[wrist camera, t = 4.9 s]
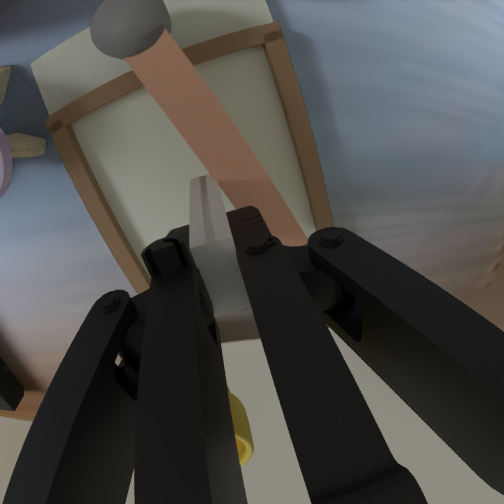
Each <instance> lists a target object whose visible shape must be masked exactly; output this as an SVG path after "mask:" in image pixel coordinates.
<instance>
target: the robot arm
mask: <svg viewBox="0 0 504 504" xmlns="http://www.w3.org/2000/svg"><path fill="white" fill-rule="evenodd" d="M141 257H142V259H143V261H144V263H145V266H146V268H147V270H148V272H149V274H150V276H151V283H150V288H149V289H147V290H146V291H144V292H142V293H140V294H138V295H136V296H134V297H132V298H131V297H130V296H129V294H128V292H126V291H124V290H115V291H110V292H108V293H106V294H104V295H103V296H102V297H101V298H99V299H98V300H97V301H96V302H95V304H94V305H93V306H92V308H91V310H90V311H89V313H88V315H87V317H86V318H85V320H84V322H83V324H82V325H81V327H80V329H79V331H78V332H77V334H76V336H75V338H74V340H73V341H72V343H71V345H70V347H69V349H68V351H67V353H66V354H65V356H64V358H63V360H62V362H61V364H60V366H59V368H58V370H57V372H56V374H55V376H54V378H53V380H52V382H51V384H50V386H49V388H48V390H47V392H46V394H45V396H44V398H43V401H42V403H41V405H40V407H39V409H38V412H37V414H36V416H35V418H34V421H33V423H32V425H31V427H30V430H29V432H28V435H27V437H26V439H25V442H24V444H23V447H22V450H21V452H20V455H19V457H18V460H17V462H16V465H15V468H14V471H13V473H12V476H11V479H10V482H9V485H8V488H7V491H6V494H5V497H4V500H3V504H125V502H126V498H127V494H128V490H129V486H130V482H131V477H132V473H133V470H134V495H135V504H248V503H247V498H246V493H245V488H244V483H243V478H242V472H241V466H240V461H239V455H238V450H237V444H236V438H235V432H234V426H233V420H232V414H231V408H230V402H229V395H228V389H227V382H226V376H225V369H224V362H223V356H222V349H221V341H220V333H219V328H218V325H217V323H216V321H215V318H214V312H215V314H216V317H221V316H224V315H228V314H232V313H236V312H239V311H243V310H246V309H250V308H252V311H253V314H254V318H255V321H256V324H257V328H258V331H259V335H260V338H261V341H262V344H263V348H264V351H265V355H266V358H267V361H268V365H269V368H270V371H271V375H272V378H273V381H274V385H275V388H276V391H277V395H278V398H279V401H280V404H281V407H282V411H283V414H284V417H285V421H286V424H287V427H288V430H289V434H290V437H291V440H292V443H293V446H294V449H295V453H296V456H297V459H298V462H299V466H300V469H301V472H302V475H303V478H304V481H305V484H306V487H307V490H308V494H309V497H310V501H311V504H428V503H427V501H426V499H425V496H424V494H423V492H422V490H421V488H420V486H419V485H418V483H417V481H416V479H415V478H414V476H413V475H412V474H411V473H410V472H409V470H408V469H407V468H405V467H403V466H402V465H400V464H398V463H397V461H396V460H395V459H394V457H393V455H392V454H391V452H390V450H389V448H388V446H387V443H386V441H385V439H384V437H383V435H382V433H381V431H380V429H379V427H378V425H377V423H376V421H375V419H374V417H373V415H372V413H371V411H370V409H369V407H368V405H367V403H366V401H365V399H364V397H363V395H362V393H361V391H360V389H359V387H358V385H357V383H356V381H355V379H354V377H353V375H352V373H351V371H350V370H349V368H348V366H347V364H346V362H345V360H344V359H343V356H342V354H341V352H340V350H339V348H338V346H337V345H336V343H335V341H334V339H333V337H332V335H331V333H330V331H329V329H328V327H327V325H328V326H329V327H330V328H331V329H332V330H333V331H334V332H335V333H336V334H337V335H338V336H339V337H340V338H341V339H342V340H343V341H344V342H345V343H346V344H347V345H348V346H349V347H350V348H351V349H352V350H353V351H354V352H355V353H356V354H357V355H358V356H359V357H360V358H361V359H362V360H363V361H364V362H365V363H366V364H367V365H368V366H369V367H370V368H371V369H372V370H373V371H374V372H375V373H376V374H377V375H378V376H379V377H380V378H381V379H382V380H383V381H384V382H385V383H386V384H387V385H388V386H389V387H390V388H391V389H392V390H393V391H394V392H395V393H396V394H397V395H398V396H399V397H400V398H401V399H402V400H403V401H404V402H405V403H406V404H407V405H408V406H409V407H410V408H411V409H412V410H413V411H414V412H415V413H416V414H417V415H418V416H419V417H420V418H421V419H422V420H423V421H424V422H425V423H426V424H427V425H428V426H429V427H430V428H431V429H432V430H433V431H434V432H435V433H436V434H437V435H438V436H439V437H440V438H441V439H442V440H443V441H444V442H445V443H446V444H447V445H448V446H449V447H450V448H451V449H452V450H453V451H454V452H455V453H456V454H457V455H458V456H459V457H460V458H461V459H462V460H463V461H464V462H465V463H466V464H467V465H468V466H469V467H470V468H471V469H472V470H473V471H474V472H475V473H476V474H477V475H478V476H479V477H480V478H481V479H482V480H484V481H485V482H486V483H487V484H488V485H489V486H490V487H492V488H493V489H495V490H496V491H498V492H499V493H501V494H503V495H504V332H503V331H502V330H500V329H499V328H498V327H496V326H495V325H494V324H492V323H491V322H490V321H488V320H487V319H485V318H484V317H483V316H481V315H480V314H478V313H477V312H476V311H474V310H473V309H471V308H470V307H468V306H467V305H466V304H464V303H463V302H461V301H460V300H458V299H457V298H455V297H454V296H452V295H451V294H449V293H448V292H447V291H445V290H444V289H442V288H441V287H439V286H438V285H436V284H434V283H433V282H431V281H430V280H428V279H427V278H425V277H424V276H422V275H421V274H419V273H418V272H416V271H414V270H413V269H411V268H410V267H408V266H407V265H405V264H403V263H402V262H400V261H399V260H397V259H395V258H394V257H392V256H391V255H389V254H387V253H386V252H384V251H382V250H381V249H379V248H378V247H376V246H374V245H373V244H371V243H369V242H368V241H366V240H364V239H363V238H361V237H359V236H358V235H356V234H354V233H352V232H351V231H349V230H346V229H344V228H338V227H329V228H328V227H327V228H323V229H320V230H317V231H316V232H314V233H313V234H311V235H310V237H309V238H308V245H305V246H285V245H282V243H281V241H280V240H279V239H278V238H277V237H276V236H272V234H271V232H270V230H269V228H268V227H267V225H266V223H265V221H264V219H263V217H262V215H261V213H260V211H259V209H257V208H255V207H253V206H251V205H250V206H246V207H243V208H239V209H236V210H232V211H229V212H226V210H225V207H224V203H223V200H222V196H221V193H220V189H219V186H218V183H217V181H215V180H214V179H213V177H212V176H211V174H207V175H204V176H200V177H197V178H194V179H190V185H189V224H188V225H185V226H182V227H178V228H175V229H172V230H170V231H169V233H168V234H167V235H166V237H163V238H161V239H158V240H156V241H154V242H153V243H151V244H149V245H148V246H147V247H146V248H145V249H144V250H143V251H142V253H141ZM213 310H214V312H213ZM325 323H326V324H327V325H326V324H325ZM117 355H119V356H120V358H121V359H122V360H121V362H120V364H119V365H118V366H117V365H116V364H115V360H116V358H117Z"/></svg>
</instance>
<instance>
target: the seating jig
mask: <svg viewBox="0 0 504 504" xmlns="http://www.w3.org/2000/svg"><path fill="white" fill-rule="evenodd" d="M163 2H164V3H165V6H166V8H167V10H168V13H169V15H170V18H171V32H170V35H171V36H172V38H173V39H174V40H175V42H176V43H177V44H178V46H179V47H180V48H181V50H182V51H183V52H184V54H185V55H186V57H187V58H188V59H189V61H190V62H191V63H192V65H193V66H194V67H195V69H196V70H197V72H198V73H199V74H200V76H201V77H202V78H203V80H204V81H205V83H206V84H207V85H208V87H209V88H210V90H211V91H212V93H213V94H214V95H215V97H216V98H217V100H218V101H219V103H220V104H221V105H222V107H223V108H224V110H225V111H226V113H227V114H228V116H229V117H230V118H231V120H232V121H233V123H234V124H235V126H236V127H237V129H238V130H239V132H240V133H241V135H242V136H243V138H244V139H245V141H246V142H247V144H248V145H249V147H250V148H251V150H252V151H253V153H254V154H255V156H256V157H257V159H258V160H259V162H260V163H261V165H262V166H263V168H264V170H265V171H266V173H267V174H268V176H269V177H270V179H271V180H272V182H273V184H274V185H275V187H276V188H277V190H278V191H279V193H280V195H281V196H282V198H283V199H284V201H285V203H286V204H287V206H288V207H289V209H290V211H291V212H292V214H293V215H294V217H295V219H296V220H297V222H298V224H299V225H300V227H301V228H302V230H303V232H304V233H305V235H306V237H307V238H309V237H310V235H311V234H313V233H314V232H316V231H317V230H320V229H323V228H327V227H328V228H329V227H334V224H333V220H332V215H331V210H330V205H329V201H328V196H327V191H326V187H325V183H324V178H323V174H322V170H321V166H320V161H319V157H318V153H317V149H316V145H315V142H314V138H313V134H312V130H311V126H310V123H309V119H308V115H307V112H306V108H305V105H304V101H303V98H302V94H301V91H300V88H299V84H298V81H297V78H296V74H295V71H294V68H293V65H292V62H291V59H290V55H289V52H288V49H287V46H286V43H285V40H284V38H283V35H282V32H281V29H280V26H279V23H278V22H273V19H272V16H271V14H270V11H269V8H268V6H267V3H266V0H163ZM30 65H31V68H32V71H33V74H34V77H35V79H36V82H37V85H38V88H39V90H40V93H41V96H42V98H43V101H44V103H45V106H46V108H47V111H48V113H49V116H48V117H47V118H45V119H44V120H45V123H46V125H47V127H48V130H49V132H50V134H51V137H52V139H53V141H54V143H55V146H56V148H57V150H58V152H59V154H60V156H61V159H62V161H63V163H64V165H65V167H66V169H67V171H68V173H69V175H70V177H71V179H72V181H73V183H74V185H75V187H76V189H77V191H78V193H79V195H80V197H81V199H82V201H83V203H84V205H85V206H86V208H87V210H88V212H89V214H90V216H91V218H92V219H93V221H94V223H95V225H96V227H97V228H98V230H99V232H100V234H101V235H102V237H103V239H104V241H105V242H106V244H107V246H108V247H109V249H110V251H111V252H112V254H113V256H114V257H115V259H116V261H117V262H118V264H119V266H120V267H121V269H122V271H123V272H124V274H125V275H126V277H127V279H128V280H129V282H130V283H131V285H132V286H133V288H134V289H135V291H136V293H137V294H140V293H142V292H144V291H146V290H147V289H149V288H150V283H151V276H150V274H149V272H148V270H147V268H146V266H145V263H144V261H143V259H142V257H141V253H142V251H143V250H144V249H145V248H146V247H147V246H148V245H149V244H151V243H153V242H154V241H156V240H158V239H161V238H163V237H166V235H167V234H168V233H169V231H170V230H172V229H175V228H178V227H182V226H185V225H188V224H189V185H190V179H194V178H197V177H200V176H204V175H207V174H210V173H209V172H208V170H207V169H206V168H205V166H204V165H203V164H202V162H201V161H200V160H199V158H198V157H197V156H196V154H195V153H194V151H193V150H192V149H191V147H190V146H189V145H188V143H187V142H186V141H185V139H184V138H183V137H182V135H181V134H180V133H179V131H178V130H177V129H176V127H175V126H174V125H173V123H172V122H171V121H170V119H169V118H168V117H167V115H166V114H165V113H164V111H163V110H162V109H161V107H160V106H159V105H158V103H157V102H156V101H155V99H154V98H153V97H152V95H151V94H150V93H149V91H148V90H147V89H146V87H145V86H144V85H143V83H142V82H141V81H140V79H139V78H138V77H137V75H136V74H135V73H134V71H133V70H132V69H131V67H130V66H129V65H128V64H127V62H126V61H125V60H121V59H118V58H114V57H110V56H108V55H105V54H103V53H102V52H101V51H99V50H98V49H97V48H96V46H95V45H94V43H93V41H92V39H91V34H90V27H88V28H86V29H84V30H82V31H81V32H79V33H77V34H75V35H74V36H72V37H70V38H69V39H67V40H65V41H64V42H62V43H60V44H59V45H57V46H56V47H54V48H53V49H51V50H49V51H48V52H46V53H45V54H43V55H42V56H41V57H39V58H38V59H36V60H35V61H33V62H32V63H31V64H30ZM218 186H219V185H218ZM219 189H220V193H221V196H222V200H223V203H224V207H225V210H226V212H229V211H232V210H236V209H235V207H234V206H233V204H232V203H231V202H230V200H229V199H228V198H227V196H226V195H225V193H224V192H223V191H222V189H221V188H220V187H219ZM305 245H308V242H307V243H306V244H304V245H302V246H305Z"/></svg>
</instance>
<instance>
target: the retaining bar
mask: <svg viewBox="0 0 504 504" xmlns="http://www.w3.org/2000/svg"><path fill="white" fill-rule="evenodd" d="M170 32H171V18H170V15H169V13H168V10H167V8H166V6H165V3H164V2H163V0H104V1H103V2H102V3H101V4H100V6H99V7H98V8H97V10H96V11H95V13H94V15H93V17H92V20H91V25H90V34H91V39H92V41H93V43H94V45H95V46H96V48H97V49H98V50H99V51H101V52H102V53H103V54H105V55H108V56H110V57H114V58H118V59H121V60H125V61H126V62H127V64H128V65H129V66H130V67H131V69H132V70H133V71H134V73H135V74H136V75H137V77H138V78H139V79H140V81H141V82H142V83H143V85H144V86H145V87H146V89H147V90H148V91H149V93H150V94H151V95H152V97H153V98H154V99H155V101H156V102H157V103H158V105H159V106H160V107H161V109H162V110H163V111H164V113H165V114H166V115H167V117H168V118H169V119H170V121H171V122H172V123H173V125H174V126H175V127H176V129H177V130H178V131H179V133H180V134H181V135H182V137H183V138H184V139H185V141H186V142H187V143H188V145H189V146H190V147H191V149H192V150H193V151H194V153H195V154H196V156H197V157H198V158H199V160H200V161H201V162H202V164H203V165H204V166H205V168H206V169H207V170H208V172H209V173H210V174H211V176H212V177H213V179H214V180H215V181H217V183H218V185H219V187H220V188H221V189H222V191H223V192H224V193H225V195H226V196H227V198H228V199H229V200H230V202H231V203H232V204H233V206H234V207H235V209H239V208H243V207H246V206H250V205H251V206H253V207H255V208H257V209H259V211H260V213H261V215H262V217H263V219H264V221H265V223H266V225H267V227H268V228H269V230H270V232H271V234H272V236H276V237H277V238H278V239H279V240H280V241H281V243H282V245H285V246H302V245H304V244H306V243H307V242H308V238H307V237H306V235H305V233H304V232H303V230H302V228H301V227H300V225H299V224H298V222H297V220H296V219H295V217H294V215H293V214H292V212H291V211H290V209H289V207H288V206H287V204H286V203H285V201H284V199H283V198H282V196H281V195H280V193H279V191H278V190H277V188H276V187H275V185H274V184H273V182H272V180H271V179H270V177H269V176H268V174H267V173H266V171H265V170H264V168H263V166H262V165H261V163H260V162H259V160H258V159H257V157H256V156H255V154H254V153H253V151H252V150H251V148H250V147H249V145H248V144H247V142H246V141H245V139H244V138H243V136H242V135H241V133H240V132H239V130H238V129H237V127H236V126H235V124H234V123H233V121H232V120H231V118H230V117H229V116H228V114H227V113H226V111H225V110H224V108H223V107H222V105H221V104H220V103H219V101H218V100H217V98H216V97H215V95H214V94H213V93H212V91H211V90H210V88H209V87H208V85H207V84H206V83H205V81H204V80H203V78H202V77H201V76H200V74H199V73H198V72H197V70H196V69H195V67H194V66H193V65H192V63H191V62H190V61H189V59H188V58H187V57H186V55H185V54H184V52H183V51H182V50H181V48H180V47H179V46H178V44H177V43H176V42H175V40H174V39H173V38H172V36H171V35H170Z"/></svg>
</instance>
